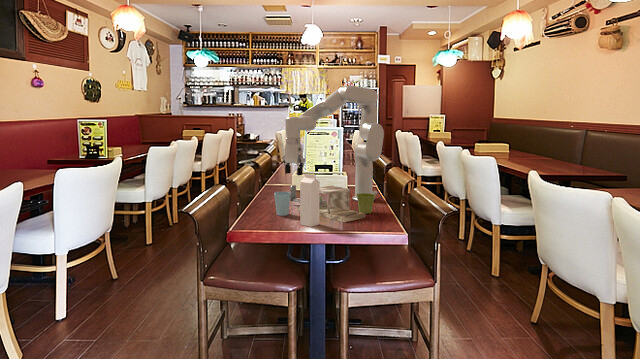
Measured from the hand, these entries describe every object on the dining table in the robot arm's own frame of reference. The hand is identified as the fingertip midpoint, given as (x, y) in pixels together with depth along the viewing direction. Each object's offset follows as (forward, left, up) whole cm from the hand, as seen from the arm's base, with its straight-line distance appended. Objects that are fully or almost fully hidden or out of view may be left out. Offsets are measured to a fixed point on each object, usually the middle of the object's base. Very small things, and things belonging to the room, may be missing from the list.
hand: (293, 174), depth 240 cm
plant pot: (-15, +37, -16) cm, 43 cm away
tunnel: (0, +28, -16) cm, 32 cm away
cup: (+18, +14, -16) cm, 28 cm away
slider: (0, +9, -14) cm, 17 cm away
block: (0, +17, -14) cm, 22 cm away
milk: (+21, +37, -16) cm, 46 cm away
